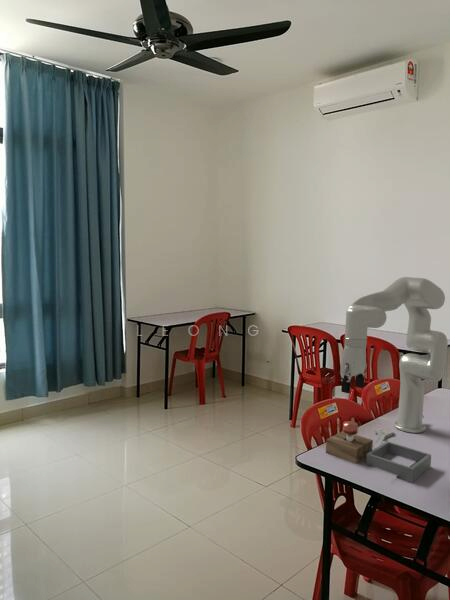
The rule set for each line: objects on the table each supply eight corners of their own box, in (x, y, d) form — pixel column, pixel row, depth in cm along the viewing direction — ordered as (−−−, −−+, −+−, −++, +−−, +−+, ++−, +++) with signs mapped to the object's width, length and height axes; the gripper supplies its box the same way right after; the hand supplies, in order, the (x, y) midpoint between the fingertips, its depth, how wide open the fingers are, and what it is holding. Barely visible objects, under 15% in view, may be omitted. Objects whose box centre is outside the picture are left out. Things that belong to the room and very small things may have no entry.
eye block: (342, 445, 183) (343, 430, 182) (371, 455, 175) (372, 440, 174) (325, 455, 174) (326, 439, 174) (355, 466, 166) (356, 449, 165)
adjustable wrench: (377, 455, 176) (377, 451, 176) (359, 451, 180) (360, 446, 180) (394, 433, 197) (394, 429, 197) (378, 430, 201) (378, 426, 200)
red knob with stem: (346, 448, 178) (347, 420, 177) (358, 453, 174) (360, 423, 173) (338, 452, 174) (340, 423, 173) (351, 457, 171) (353, 427, 169)
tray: (386, 452, 178) (387, 441, 177) (430, 467, 167) (431, 454, 166) (365, 466, 166) (366, 453, 166) (411, 482, 155) (412, 469, 155)
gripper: (357, 338, 179) (355, 383, 181) (333, 344, 166) (330, 392, 168) (376, 341, 174) (373, 387, 175) (353, 347, 161) (350, 397, 163)
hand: (352, 389), depth 172 cm, fingers open, 9 cm apart
